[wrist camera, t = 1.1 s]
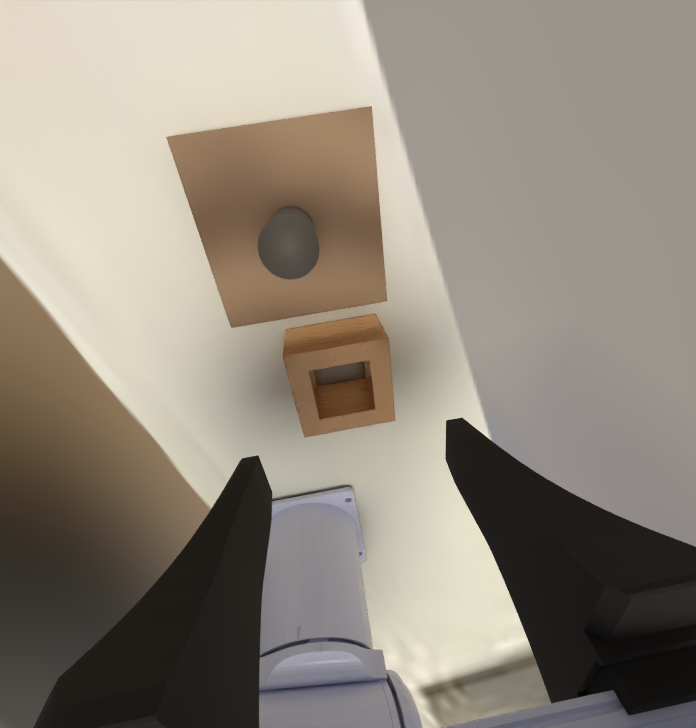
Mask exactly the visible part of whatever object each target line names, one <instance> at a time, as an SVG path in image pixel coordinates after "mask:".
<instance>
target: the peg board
mask: <svg viewBox="0 0 696 728" xmlns="http://www.w3.org/2000/svg"><path fill="white" fill-rule="evenodd" d="M166 138H167V140H168V143H169V146H170V149H171V152H172V155H173V158H174V161H175V164H176V167H177V170H178V173H179V176H180V179H181V182H182V185H183V188H184V190H185V193H186V196H187V199H188V202H189V205H190V208H191V211H192V214H193V217H194V220H195V223H196V226H197V229H198V232H199V235H200V237H201V240H202V243H203V246H204V249H205V252H206V255H207V258H208V261H209V264H210V267H211V270H212V273H213V276H214V279H215V282H216V284H217V287H218V290H219V293H220V296H221V299H222V302H223V305H224V308H225V311H226V314H227V317H228V320H229V323H230V326H231V328H233V327H239V326H245V325H251V324H256V323H262V322H268V321H274V320H280V319H286V318H291V317H297V316H303V315H309V314H315V313H321V312H326V311H332V310H338V309H344V308H350V307H356V306H361V305H367V304H373V303H379V302H385V301H387V295H386V282H385V269H384V257H383V244H382V231H381V219H380V206H379V193H378V181H377V168H376V155H375V143H374V130H373V117H372V106H370V107H364V108H357V109H350V110H344V111H337V112H330V113H324V114H317V115H310V116H303V117H297V118H290V119H283V120H277V121H270V122H263V123H257V124H250V125H243V126H236V127H230V128H223V129H216V130H210V131H203V132H196V133H190V134H183V135H176V136H169V137H166Z"/></svg>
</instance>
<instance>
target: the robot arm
mask: <svg viewBox="0 0 696 728" xmlns="http://www.w3.org/2000/svg"><path fill="white" fill-rule="evenodd" d="M446 462H447V464H448V467H449V469H450V472H451V474H452V477H453V479H454V482H455V484H456V486H457V488H458V490H459V491H460V493H461V495H462V497H463V499H464V501H465V503H466V504H467V506H468V508H469V510H470V512H471V514H472V515H473V517H474V519H475V521H476V523H477V525H478V526H479V528H480V530H481V532H482V534H483V536H484V537H485V539H486V541H487V543H488V545H489V547H490V549H491V551H492V554H493V556H494V558H495V561H496V563H497V565H498V567H499V570H500V572H501V574H502V577H503V579H504V581H505V584H506V586H507V589H508V591H509V593H510V596H511V598H512V601H513V603H514V606H515V608H516V610H517V613H518V615H519V618H520V621H521V623H522V626H523V628H524V631H525V633H526V636H527V638H528V641H529V643H530V646H531V649H532V651H533V654H534V657H535V659H536V662H537V665H538V668H539V670H540V673H541V676H542V678H543V681H544V684H545V687H546V689H547V692H548V695H549V698H550V701H551V704H547V705H542V706H538V707H533V708H529V709H524V710H519V711H515V712H510V713H506V714H501V715H497V716H492V717H488V718H483V719H478V720H474V721H469V722H465V723H460V724H456V725H451V726H447V727H442V728H696V547H694V546H692V545H689V544H687V543H684V542H682V541H679V540H676V539H674V538H671V537H668V536H666V535H663V534H660V533H658V532H655V531H653V530H650V529H647V528H645V527H642V526H640V525H638V524H635V523H633V522H631V521H629V520H626V519H624V518H622V517H619V516H617V515H614V514H613V513H611V512H608V511H606V510H604V509H602V508H600V507H598V506H595V505H594V504H592V503H590V502H588V501H586V500H584V499H582V498H580V497H578V496H576V495H574V494H572V493H570V492H568V491H566V490H565V489H563V488H561V487H559V486H558V485H556V484H554V483H553V482H551V481H549V480H547V479H546V478H544V477H542V476H541V475H539V474H538V473H536V472H534V471H533V470H531V469H530V468H528V467H527V466H525V465H524V464H522V463H521V462H519V461H518V460H517V459H515V458H514V457H512V456H511V455H510V454H508V453H507V452H505V451H504V450H503V449H501V448H500V447H499V446H497V445H496V444H495V443H493V442H492V441H491V440H490V439H488V438H487V437H486V436H484V435H483V434H482V433H481V432H479V431H478V430H477V429H476V428H474V427H473V426H472V425H471V424H469V423H468V422H467V421H466V420H464V419H463V418H458V419H452V420H447V421H446ZM365 561H366V554H365V549H364V544H363V538H362V533H361V528H360V523H359V517H358V512H357V507H356V501H355V496H354V491H353V489H352V488H350V487H345V488H340V489H335V490H330V491H324V492H319V493H314V494H309V495H303V496H298V497H293V498H288V499H283V500H277V501H272V490H271V488H270V485H269V482H268V480H267V477H266V474H265V472H264V469H263V467H262V464H261V461H260V459H259V456H253V457H248V458H242V459H241V461H240V462H239V464H238V466H237V467H236V469H235V471H234V473H233V474H232V476H231V478H230V480H229V481H228V483H227V485H226V486H225V488H224V490H223V491H222V493H221V495H220V496H219V498H218V499H217V501H216V503H215V504H214V506H213V507H212V509H211V511H210V512H209V514H208V515H207V517H206V518H205V519H204V521H203V522H202V524H201V525H200V527H199V528H198V530H197V531H196V533H195V534H194V535H193V537H192V538H191V540H190V541H189V542H188V544H187V545H186V546H185V548H184V549H183V550H182V551H181V553H180V554H179V555H178V556H177V558H176V559H175V560H174V562H173V563H172V564H171V565H170V566H169V568H168V569H167V570H166V571H165V572H164V573H163V575H162V576H161V577H160V578H159V579H158V581H157V582H156V583H155V584H154V585H153V586H152V587H151V588H150V590H149V591H148V592H147V593H146V594H145V595H144V596H143V597H142V598H141V600H140V601H139V602H138V603H137V604H136V605H135V606H134V607H133V608H132V609H131V610H130V611H129V612H128V613H127V614H126V615H125V616H124V617H123V618H122V619H121V620H120V621H119V622H118V623H117V624H116V625H115V626H114V627H113V628H112V629H111V630H110V631H109V632H108V633H107V634H106V635H105V636H104V637H103V638H102V639H101V640H100V641H99V642H97V643H96V644H95V645H94V646H93V647H92V648H91V649H90V650H89V651H88V652H87V653H85V654H84V655H83V656H82V657H81V658H80V659H79V660H78V661H77V662H76V663H75V664H74V665H73V666H71V667H70V668H69V669H68V670H67V671H66V672H65V673H63V674H62V675H61V676H60V677H59V678H58V680H57V682H56V684H55V686H54V688H53V690H52V691H51V693H50V695H49V697H48V699H47V701H46V703H45V705H44V707H43V709H42V711H41V713H40V715H39V718H38V719H37V722H36V724H35V726H34V728H422V724H421V720H420V717H419V713H418V710H417V707H416V704H415V702H414V699H413V697H412V695H411V693H410V691H409V689H408V688H407V686H406V685H405V684H404V683H403V681H402V680H401V678H400V676H399V675H398V674H397V673H396V672H395V671H392V670H386V668H385V662H384V656H383V651H382V650H373V644H372V638H371V631H370V624H369V618H368V611H367V604H366V598H365V591H364V584H363V577H362V571H361V563H364V562H365Z"/></svg>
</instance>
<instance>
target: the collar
mask: <svg viewBox="0 0 696 728" xmlns="http://www.w3.org/2000/svg"><path fill="white" fill-rule="evenodd" d="M283 359H284V363H285V367H286V370H287V374H288V378H289V382H290V385H291V389H292V393H293V397H294V400H295V404H296V408H297V412H298V415H299V419H300V423H301V426H302V430H303V434H304V437H309V436H314V435H319V434H325V433H330V432H336V431H341V430H346V429H352V428H357V427H363V426H368V425H373V424H379V423H384V422H390V421H395V412H394V399H393V387H392V375H391V362H390V350H389V338H388V336H387V334H386V333H385V331H384V329H383V327H382V325H381V323H380V321H379V320H378V318H377V316H376V314H373V315H367V316H361V317H355V318H350V319H344V320H338V321H332V322H327V323H321V324H315V325H309V326H303V327H298V328H292V329H286V333H285V342H284V351H283ZM357 362H364V370H365V378H361V379H356V380H350V381H345V382H339V383H333V384H328V385H322V386H317V383H316V379H315V374H314V370H318V369H323V368H329V367H335V366H340V365H346V364H351V363H357Z"/></svg>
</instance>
